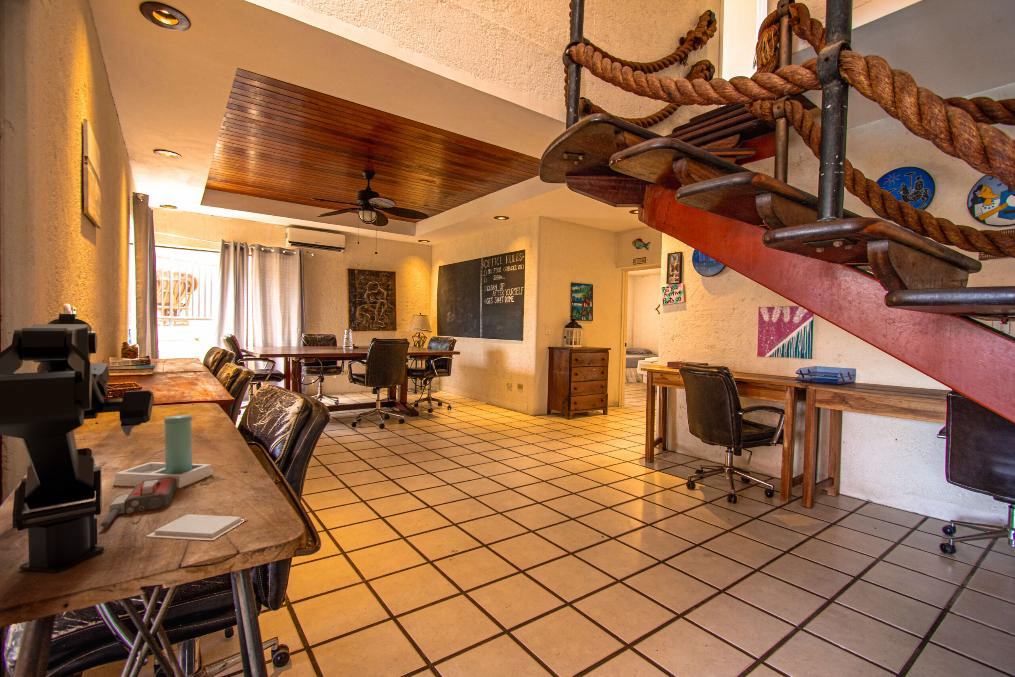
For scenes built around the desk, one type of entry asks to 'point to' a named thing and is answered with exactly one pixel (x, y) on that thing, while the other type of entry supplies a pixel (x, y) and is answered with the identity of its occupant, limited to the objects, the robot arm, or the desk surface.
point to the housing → (160, 474)
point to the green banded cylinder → (178, 444)
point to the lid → (197, 527)
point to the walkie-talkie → (143, 497)
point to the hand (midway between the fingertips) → (97, 436)
